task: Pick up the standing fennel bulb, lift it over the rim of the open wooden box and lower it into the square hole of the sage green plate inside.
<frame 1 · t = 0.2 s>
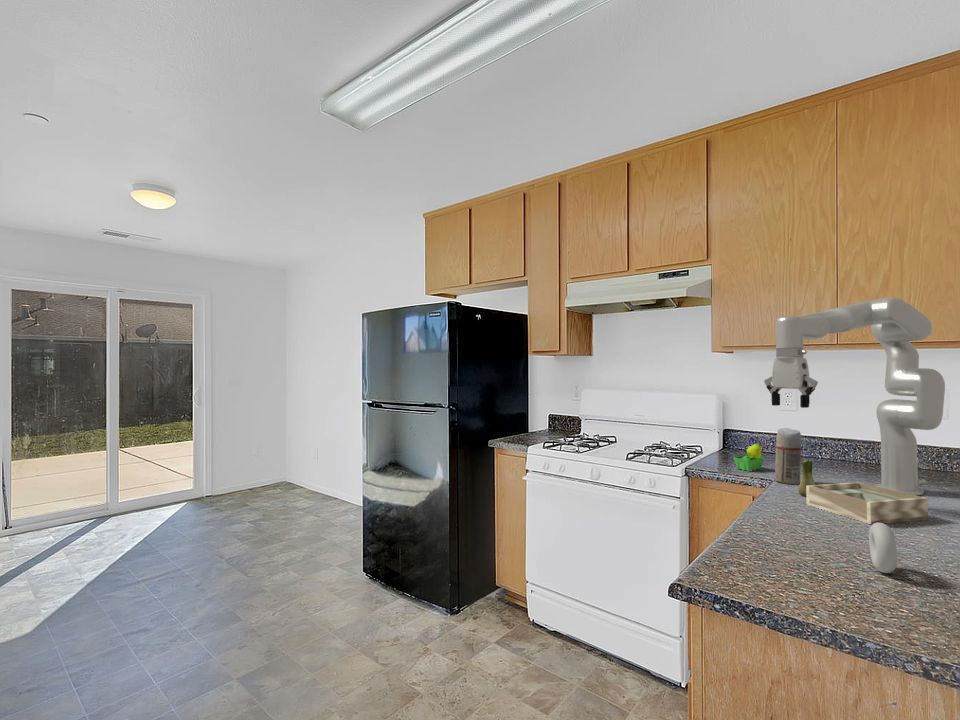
hand: (789, 406, 160), 30 cm above the worktop, tool pointing down, fingers open, 9 cm apart
spray can: (788, 482, 183), on the worktop
donut: (882, 572, 102), on the worktop
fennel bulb: (808, 496, 163), on the worktop
open wooden box: (864, 512, 144), on the worktop
fruit basket: (750, 470, 206), on the worktop
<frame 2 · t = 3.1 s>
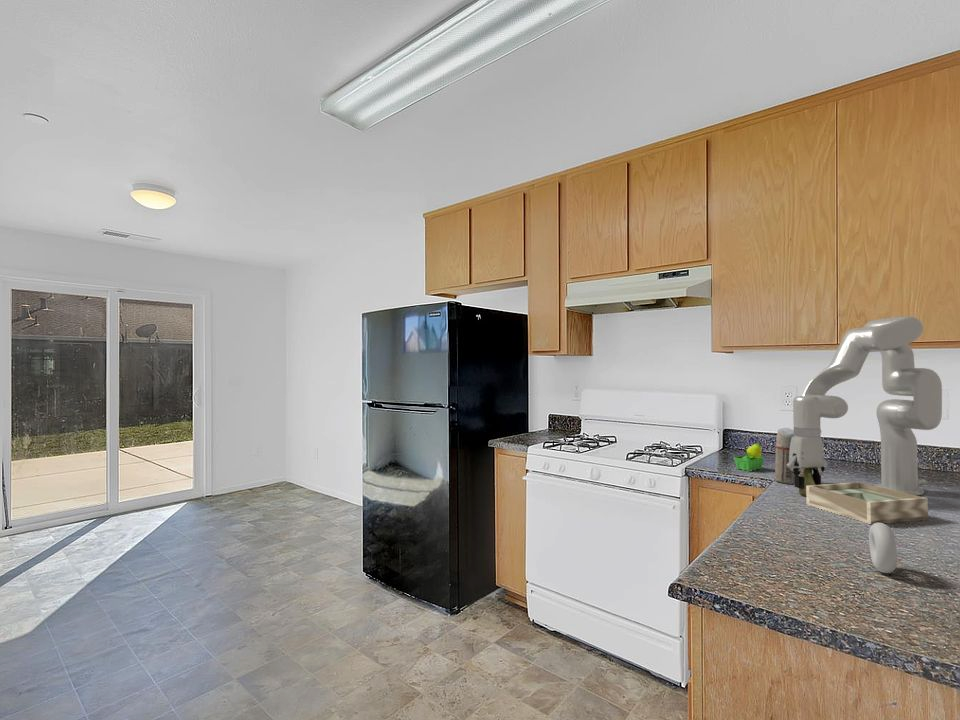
hand: (807, 486, 163), 3 cm above the worktop, tool pointing down, fingers closed on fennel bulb, 5 cm apart
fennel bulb: (807, 496, 163), on the worktop, touching gripper
everything else where it was.
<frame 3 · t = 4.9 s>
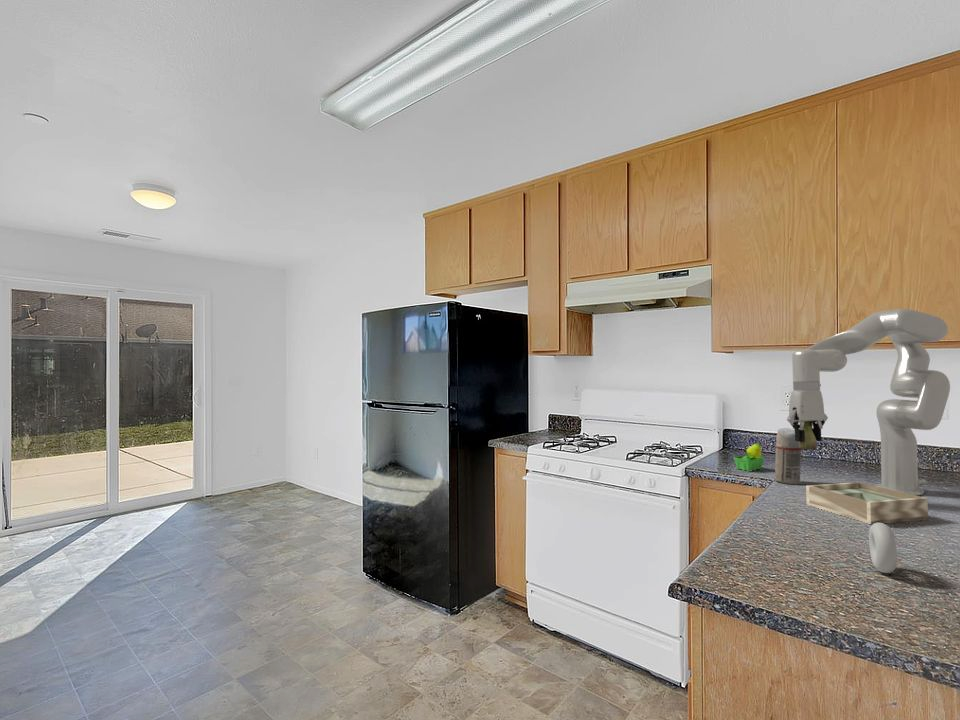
hand: (808, 440, 163), 18 cm above the worktop, tool pointing down, fingers closed on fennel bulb, 5 cm apart
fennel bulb: (808, 450, 163), point 15 cm above the worktop, touching gripper
everything else where it was.
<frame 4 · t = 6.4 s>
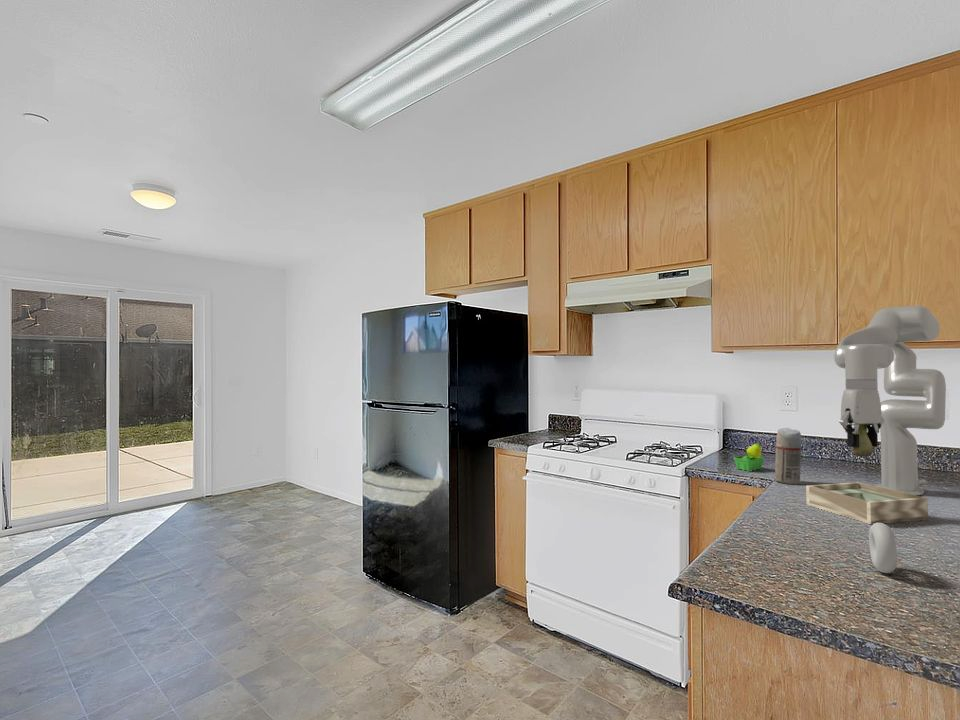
hand: (862, 446, 145), 19 cm above the worktop, tool pointing down, fingers closed on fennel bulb, 5 cm apart
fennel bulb: (862, 456, 145), point 16 cm above the worktop, touching gripper
everything else where it was.
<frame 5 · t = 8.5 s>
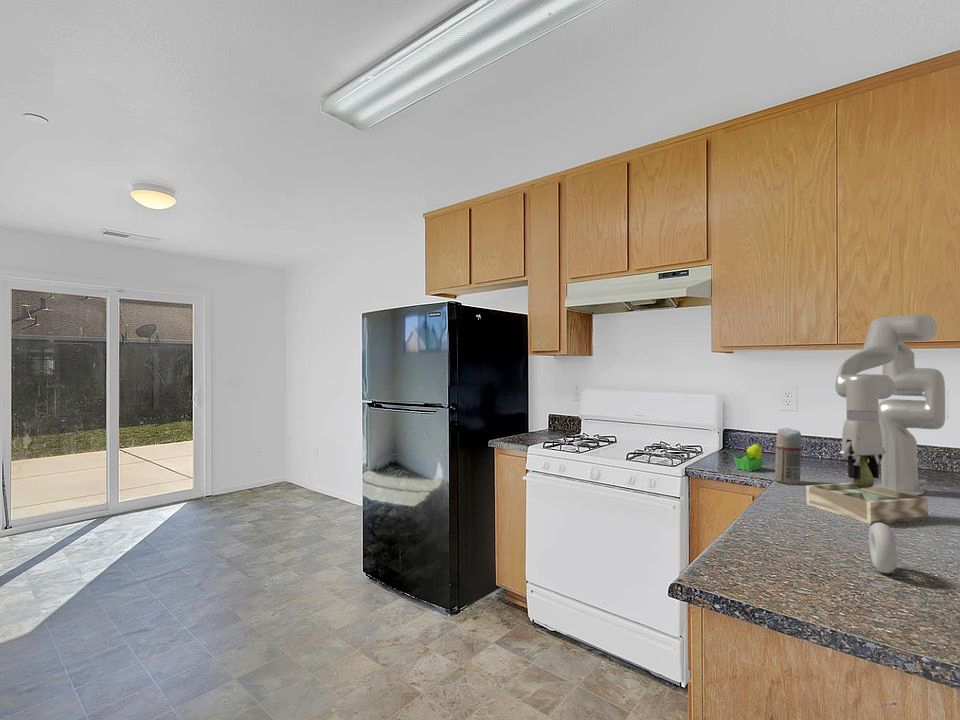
hand: (863, 477, 145), 10 cm above the worktop, tool pointing down, fingers closed on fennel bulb, 5 cm apart
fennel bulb: (863, 488, 144), point 7 cm above the worktop, touching gripper
everything else where it was.
when the fingers open (6 cm above the worktop, at t = 10.1 s): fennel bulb drops 2 cm, resting on open wooden box.
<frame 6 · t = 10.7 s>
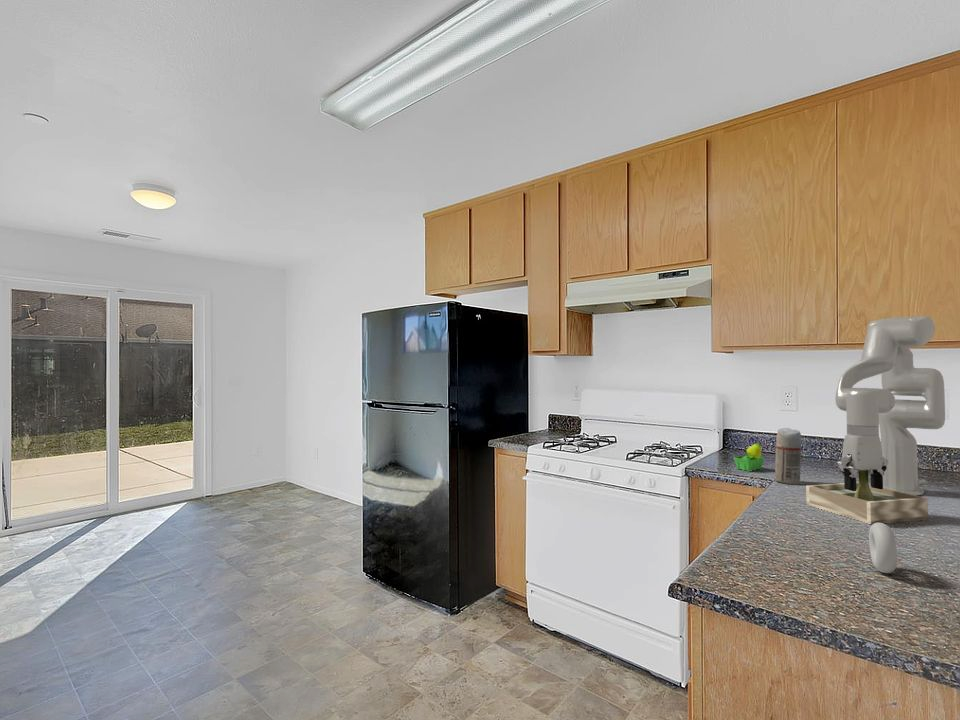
hand: (863, 489, 144), 7 cm above the worktop, tool pointing down, fingers open, 9 cm apart
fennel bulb: (864, 509, 144), point 1 cm above the worktop, touching open wooden box
everything else where it was.
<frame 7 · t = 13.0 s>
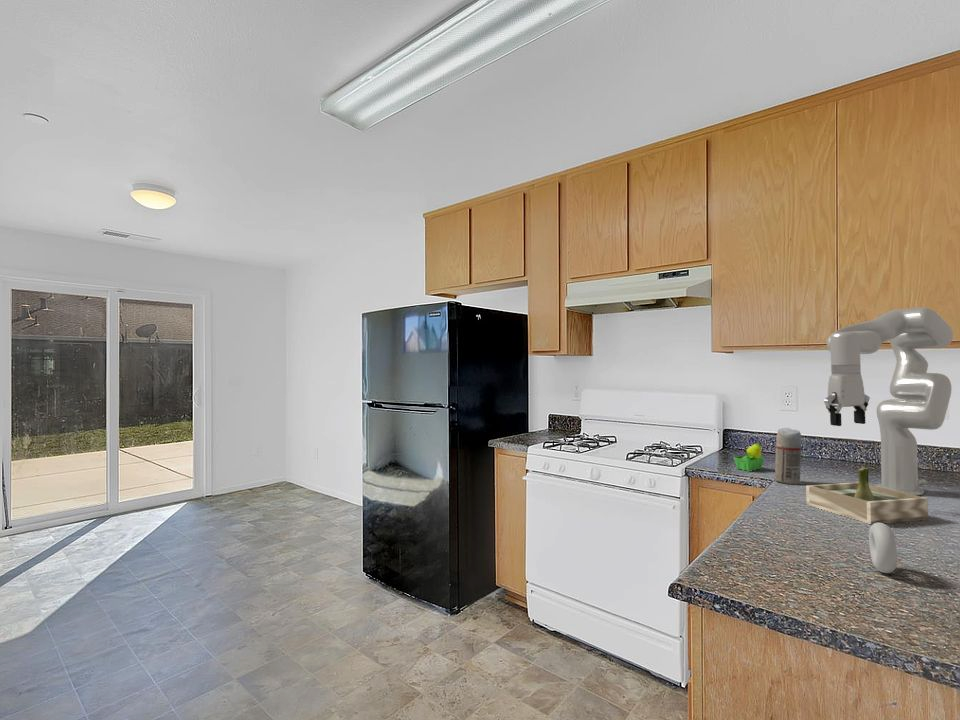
hand: (848, 424, 156), 25 cm above the worktop, tool pointing down, fingers open, 9 cm apart
nothing on the worktop moved.
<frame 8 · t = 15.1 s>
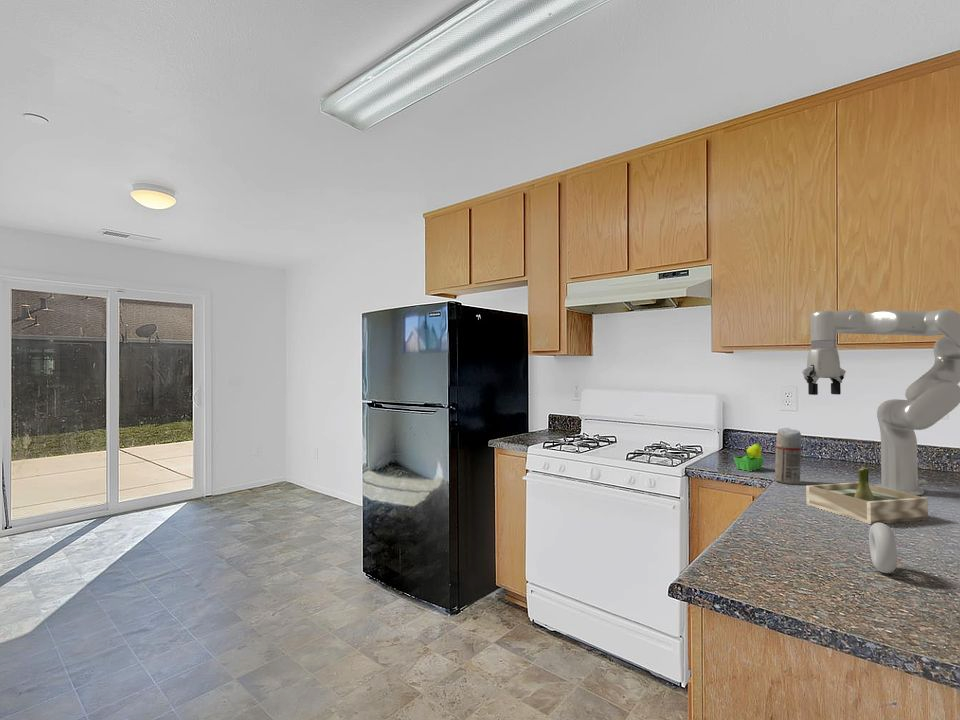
hand: (824, 394, 172), 33 cm above the worktop, tool pointing down, fingers open, 9 cm apart
nothing on the worktop moved.
at the end: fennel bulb 0.3 cm from the open wooden box (horizontally); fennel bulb point 0.8 cm above the worktop; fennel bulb tilted 0° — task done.
